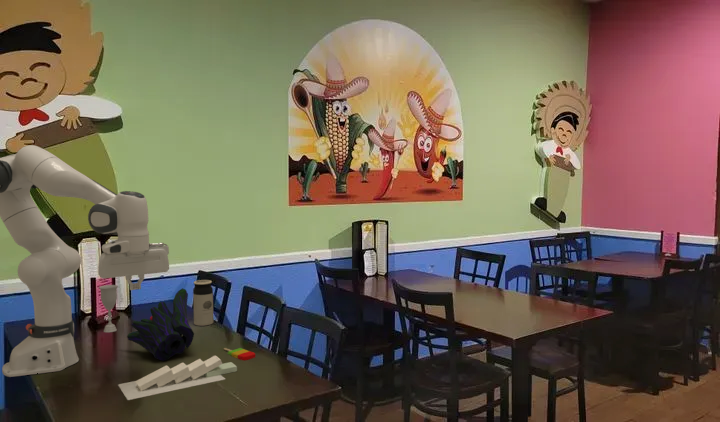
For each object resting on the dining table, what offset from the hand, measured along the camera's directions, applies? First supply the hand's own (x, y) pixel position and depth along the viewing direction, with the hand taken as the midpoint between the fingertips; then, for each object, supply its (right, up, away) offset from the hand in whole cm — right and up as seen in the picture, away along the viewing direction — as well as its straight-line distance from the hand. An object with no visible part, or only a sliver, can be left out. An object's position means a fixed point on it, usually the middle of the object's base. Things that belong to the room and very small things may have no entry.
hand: (135, 289), depth 178 cm
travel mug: (+3, -24, +68) cm, 72 cm away
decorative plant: (-2, -27, +32) cm, 42 cm away
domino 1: (+2, -28, -4) cm, 29 cm away
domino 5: (+19, -27, +7) cm, 34 cm away
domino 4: (+15, -28, +4) cm, 32 cm away
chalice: (-33, -25, +58) cm, 70 cm away
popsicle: (+25, -28, +28) cm, 47 cm away
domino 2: (+7, -28, -2) cm, 29 cm away
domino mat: (+11, -29, +1) cm, 31 cm away
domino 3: (+11, -28, +1) cm, 30 cm away
